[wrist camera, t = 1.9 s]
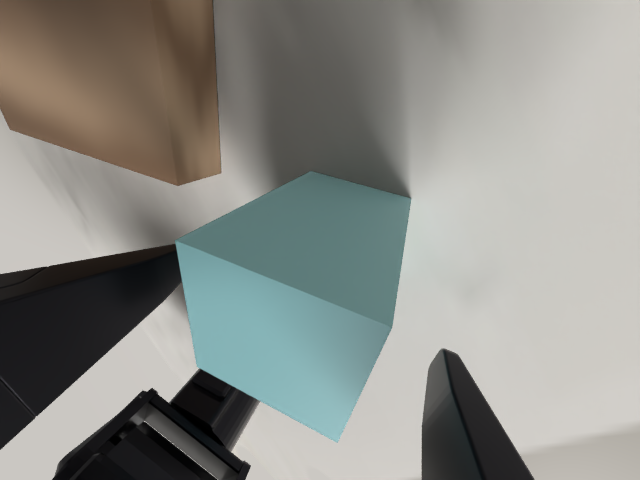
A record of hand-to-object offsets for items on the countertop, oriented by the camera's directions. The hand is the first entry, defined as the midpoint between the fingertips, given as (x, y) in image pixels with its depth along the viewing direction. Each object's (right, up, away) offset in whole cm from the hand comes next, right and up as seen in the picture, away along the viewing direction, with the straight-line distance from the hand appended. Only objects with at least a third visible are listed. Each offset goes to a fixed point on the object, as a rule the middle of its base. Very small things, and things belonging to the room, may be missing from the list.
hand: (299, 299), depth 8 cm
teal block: (+2, +3, +5) cm, 6 cm away
